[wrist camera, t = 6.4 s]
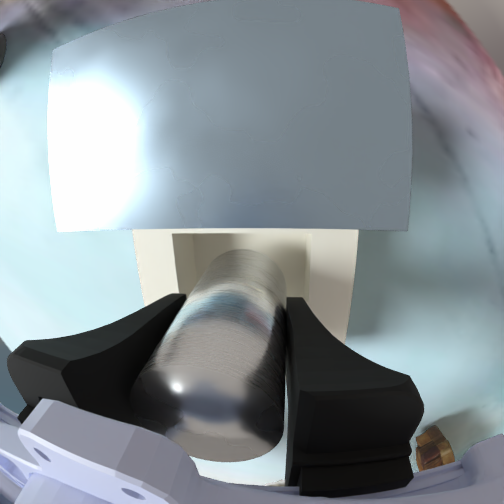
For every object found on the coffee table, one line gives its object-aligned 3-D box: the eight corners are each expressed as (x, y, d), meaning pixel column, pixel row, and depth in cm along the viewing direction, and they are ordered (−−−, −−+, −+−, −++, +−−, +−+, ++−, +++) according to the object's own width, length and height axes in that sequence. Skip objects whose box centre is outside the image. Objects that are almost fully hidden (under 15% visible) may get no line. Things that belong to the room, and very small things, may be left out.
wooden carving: (392, 429, 21) (414, 518, 12) (436, 406, 20) (470, 491, 11) (420, 477, 25) (434, 534, 15) (451, 461, 23) (469, 518, 14)
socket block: (330, 337, 18) (338, 379, 14) (179, 332, 19) (159, 369, 16) (342, 178, 15) (360, 186, 11) (161, 181, 16) (128, 191, 12)
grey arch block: (342, 187, 15) (407, 230, 7) (162, 189, 16) (57, 231, 8) (340, 79, 13) (398, 8, 5) (158, 88, 14) (52, 49, 6)
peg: (287, 249, 13) (287, 372, 6) (285, 326, 14) (280, 466, 7) (199, 248, 14) (111, 354, 6) (206, 323, 15) (151, 449, 7)
